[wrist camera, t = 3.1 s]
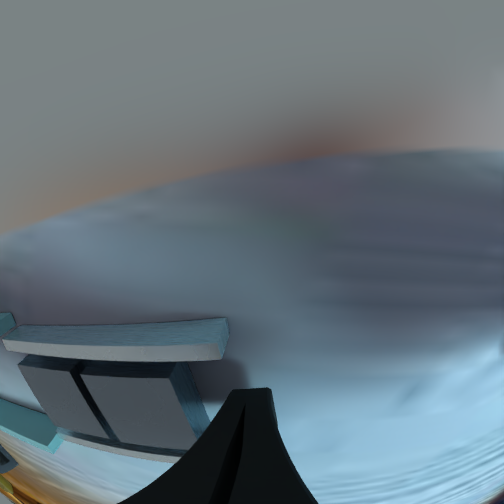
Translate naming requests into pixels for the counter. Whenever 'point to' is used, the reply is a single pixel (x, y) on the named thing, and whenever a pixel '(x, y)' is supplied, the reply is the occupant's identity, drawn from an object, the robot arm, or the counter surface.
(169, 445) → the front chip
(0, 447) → the external hard drive
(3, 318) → the tray
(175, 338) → the slot guide
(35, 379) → the block
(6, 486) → the saucer
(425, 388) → the counter surface
